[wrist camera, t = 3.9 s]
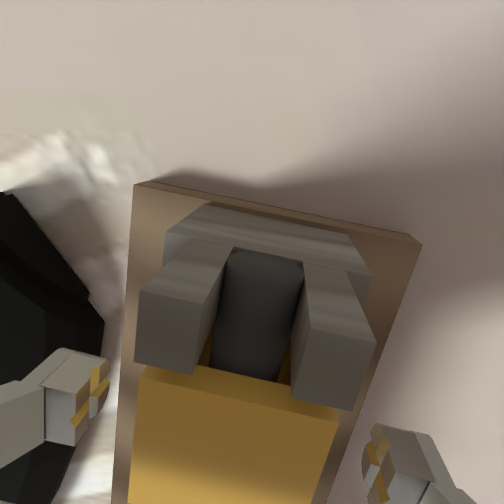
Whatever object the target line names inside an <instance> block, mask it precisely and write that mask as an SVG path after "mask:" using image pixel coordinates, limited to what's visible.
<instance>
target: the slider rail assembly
mask: <svg viewBox="0 0 504 504" xmlns="http://www.w3.org/2000/svg"><path fill="white" fill-rule="evenodd" d="M421 247H422V244H420V243H419V242H418V241H417V240H415V239H414V238H413V237H411V236H410V235H407V234H402V233H397V232H392V231H388V230H383V229H378V228H373V227H368V226H363V225H359V224H354V223H349V222H344V221H339V220H335V219H330V218H325V217H320V216H315V215H311V214H306V213H301V212H296V211H291V210H287V209H282V208H277V207H272V206H267V205H263V204H258V203H253V202H248V201H243V200H238V199H234V198H229V197H224V196H219V195H214V194H210V193H205V192H200V191H195V190H190V189H186V188H181V187H176V186H171V185H166V184H162V183H157V182H152V181H145V182H141V183H138V184H134V185H133V199H132V213H131V227H130V241H129V255H128V269H127V283H126V297H125V312H124V326H123V340H122V354H121V368H120V382H119V396H118V410H117V424H116V438H115V452H114V466H113V480H112V494H111V504H130V503H127V501H128V490H129V480H130V469H131V458H132V448H133V437H134V427H135V416H136V406H137V395H138V384H139V376H140V375H141V373H142V372H143V370H144V369H145V367H146V365H149V366H153V367H158V368H162V369H167V370H171V371H175V372H180V373H184V374H188V375H192V374H193V371H194V369H195V367H196V364H197V362H198V359H199V357H200V355H201V352H202V350H203V347H204V345H205V342H206V340H207V338H208V335H209V333H210V330H211V328H212V326H213V323H214V321H215V318H216V316H217V313H218V308H219V302H220V297H221V291H222V285H223V280H224V274H225V268H226V263H227V258H228V257H229V256H230V255H231V254H233V253H237V252H245V251H252V252H262V253H267V254H272V255H275V256H279V257H282V258H284V259H287V260H289V261H291V262H293V263H295V264H296V265H298V266H299V267H300V268H301V269H302V270H303V272H304V274H305V275H304V280H303V284H302V287H301V291H300V295H299V299H298V303H297V307H296V310H295V314H294V318H293V322H292V326H291V329H290V333H291V398H293V399H297V400H302V401H306V402H310V403H315V404H319V405H323V406H328V407H332V408H336V409H337V414H338V420H339V425H338V428H337V431H336V433H335V436H334V439H333V442H332V445H331V448H330V450H329V453H328V456H327V459H326V462H325V464H324V467H323V470H322V473H321V476H320V479H319V481H318V484H317V487H316V490H315V493H314V495H313V498H312V501H311V504H325V503H326V500H327V498H328V495H329V492H330V490H331V487H332V484H333V482H334V479H335V476H336V474H337V471H338V468H339V466H340V463H341V460H342V458H343V455H344V452H345V450H346V447H347V444H348V442H349V439H350V436H351V434H352V431H353V428H354V426H355V423H356V420H357V418H358V415H359V412H360V410H361V407H362V404H363V402H364V399H365V396H366V394H367V391H368V388H369V386H370V383H371V380H372V378H373V375H374V372H375V370H376V367H377V364H378V362H379V359H380V356H381V354H382V351H383V348H384V346H385V343H386V340H387V338H388V335H389V332H390V330H391V327H392V324H393V322H394V319H395V316H396V314H397V311H398V308H399V306H400V303H401V300H402V298H403V295H404V292H405V290H406V287H407V284H408V282H409V279H410V276H411V274H412V271H413V268H414V266H415V263H416V260H417V258H418V255H419V252H420V250H421Z"/></svg>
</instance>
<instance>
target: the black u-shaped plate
mask: <svg viewBox="0 0 504 504" xmlns="http://www.w3.org/2000/svg"><path fill="white" fill-rule="evenodd" d="M89 293H90V292H89V291H88V290H87V288H86V287H85V286H84V285H83V283H82V282H81V281H80V279H79V278H78V277H77V276H76V274H75V273H74V272H73V270H72V269H71V268H70V267H69V265H68V264H67V263H66V261H65V260H64V259H63V258H62V256H61V255H60V254H59V253H58V251H57V250H56V249H55V247H54V246H53V245H52V244H51V242H50V241H49V240H48V238H47V237H46V236H45V235H44V233H43V232H42V231H41V229H40V228H39V227H38V226H37V224H36V223H35V222H34V220H33V219H32V218H31V217H30V215H29V214H28V213H27V211H26V210H25V209H24V208H23V206H22V205H21V204H20V203H19V201H18V200H17V199H16V197H15V196H14V195H13V194H10V195H5V194H4V193H3V192H0V386H1V385H3V384H6V383H9V382H12V381H15V380H16V381H22V380H23V379H24V378H25V377H26V376H27V375H28V374H30V373H31V372H32V371H33V370H34V369H35V368H36V367H38V366H39V365H40V364H41V363H42V362H43V361H44V360H46V359H47V358H48V357H49V356H50V355H51V354H52V353H54V352H55V351H56V350H57V349H59V348H66V349H70V350H74V351H77V352H78V351H79V352H83V353H87V354H90V355H94V356H98V357H100V352H101V345H102V338H103V330H104V321H103V319H102V318H101V316H100V315H99V314H98V313H97V311H96V310H95V309H94V307H93V306H92V305H91V304H90V302H89V301H88V300H87V299H88V296H89ZM77 443H78V442H77ZM76 445H77V444H76ZM76 445H75V446H69V445H65V444H60V443H55V442H51V441H46V440H44V442H43V443H42V444H40V445H38V446H37V447H35V448H33V449H32V450H30V451H29V452H27V453H25V454H24V455H22V456H20V457H19V458H17V459H16V460H14V461H12V462H11V463H9V464H7V465H6V466H4V467H2V468H1V469H0V500H1V501H5V502H9V503H13V504H50V503H51V502H52V500H53V498H54V496H55V495H56V493H57V491H58V489H59V487H60V484H61V482H62V480H63V477H64V475H65V472H66V470H67V467H68V465H69V462H70V460H71V457H72V455H73V453H74V450H75V448H76Z"/></svg>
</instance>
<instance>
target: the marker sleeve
mask: <svg viewBox="0 0 504 504" xmlns="http://www.w3.org/2000/svg"><path fill="white" fill-rule="evenodd" d="M217 314H218V313H217ZM216 320H217V316H216V318H215V321H214V323H213V326H212V328H211V330H210V333H209V335H208V338H207V340H206V342H205V345H204V347H203V350H202V352H201V355H200V357H199V359H198V362H197V364H196V367H195V369H194V371H193V374H192V375H188V374H184V373H180V372H175V371H171V370H167V369H162V368H158V367H153V366H149V365H146V367H145V369H144V370H143V372H142V373H141V375H140V376H139V384H138V395H137V406H136V416H135V427H134V437H133V448H132V458H131V469H130V480H129V490H128V501H127V503H130V504H311V501H312V498H313V495H314V493H315V490H316V487H317V484H318V481H319V479H320V476H321V473H322V470H323V467H324V464H325V462H326V459H327V456H328V453H329V450H330V448H331V445H332V442H333V439H334V436H335V433H336V431H337V428H338V425H339V420H338V414H337V409H336V408H332V407H328V406H323V405H319V404H315V403H310V402H306V401H302V400H297V399H293V398H291V333H289V337H288V341H287V345H286V349H285V352H284V356H283V360H282V364H281V368H280V372H279V375H278V379H277V383H274V382H270V381H266V380H261V379H257V378H253V377H248V376H244V375H239V374H235V373H231V372H226V371H222V370H218V369H213V368H209V367H208V365H209V359H210V354H211V348H212V342H213V337H214V331H215V325H216Z"/></svg>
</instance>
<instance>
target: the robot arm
mask: <svg viewBox="0 0 504 504" xmlns="http://www.w3.org/2000/svg"><path fill="white" fill-rule="evenodd" d="M110 364H111V362H110V361H109V360H108V359H105V358H102V357H98V356H94V355H90V354H87V353H83V352H79V351H78V352H77V351H74V350H70V349H66V348H59V349H57V350H56V351H55V352H54V353H52V354H51V355H50V356H49V357H48V358H47V359H46V360H44V361H43V362H42V363H41V364H40V365H39V366H38V367H36V368H35V369H34V370H33V371H32V372H31V373H30V374H28V375H27V376H26V377H25V378H24V379H23V380H22V381H16V380H15V381H12V382H9V383H6V384H3V385H1V386H0V469H1V468H2V467H4V466H6V465H7V464H9V463H11V462H12V461H14V460H16V459H17V458H19V457H20V456H22V455H24V454H25V453H27V452H29V451H30V450H32V449H33V448H35V447H37V446H38V445H40V444H42V443H43V442H44V440H46V441H51V442H55V443H60V444H65V445H69V446H75V445H76V444H77V442H78V441H79V439H80V438H81V437H82V435H83V434H84V433H85V431H86V430H87V428H88V425H89V419H90V418H92V417H94V416H96V415H97V414H98V413H99V411H100V410H101V409H102V407H103V405H104V403H105V400H106V398H107V395H108V391H109V381H108V379H107V378H106V376H107V374H108V373H109V372H110ZM371 437H372V440H373V441H371V442H370V443H368V444H366V446H365V449H364V452H363V456H362V473H363V478H364V481H365V483H366V484H367V485H368V486H369V488H370V492H369V494H368V496H367V497H368V501H369V504H477V503H475V502H474V501H473V500H472V499H471V498H470V497H469V496H468V495H467V494H466V493H465V492H464V491H463V490H462V489H458V488H456V486H455V484H454V482H453V480H452V478H451V476H450V474H449V472H448V470H447V468H446V466H445V464H444V462H443V460H442V458H441V456H440V454H439V452H438V450H437V448H436V446H435V443H434V441H433V439H432V438H431V437H430V436H429V435H427V434H422V433H418V432H413V431H407V430H403V429H399V428H394V427H390V426H386V425H381V424H377V423H376V424H375V425H374V426H373V429H372V431H371ZM0 504H13V503H9V502H5V501H1V500H0Z"/></svg>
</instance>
